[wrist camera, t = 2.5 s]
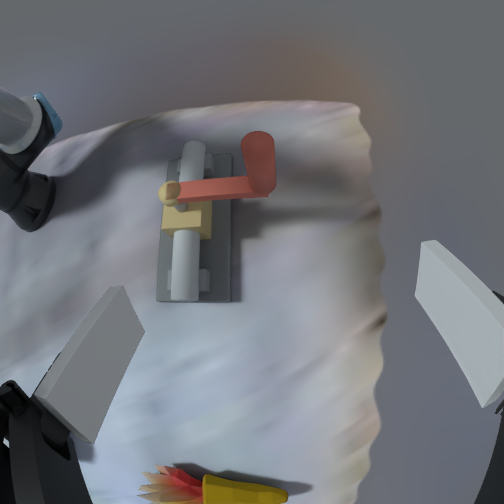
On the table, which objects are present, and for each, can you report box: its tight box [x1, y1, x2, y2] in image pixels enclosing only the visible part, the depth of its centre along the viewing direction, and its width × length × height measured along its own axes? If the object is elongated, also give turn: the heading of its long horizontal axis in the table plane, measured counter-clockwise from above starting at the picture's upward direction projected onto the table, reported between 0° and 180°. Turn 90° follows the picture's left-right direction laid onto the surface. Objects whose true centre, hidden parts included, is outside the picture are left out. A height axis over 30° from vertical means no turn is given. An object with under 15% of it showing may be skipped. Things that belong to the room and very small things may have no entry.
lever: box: [158, 131, 276, 207], centre depth 30 cm, size 15×3×9 cm, turn 91°
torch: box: [137, 465, 288, 504], centre depth 30 cm, size 8×8×25 cm
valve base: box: [156, 140, 233, 302], centre depth 40 cm, size 12×26×11 cm, turn 1°
